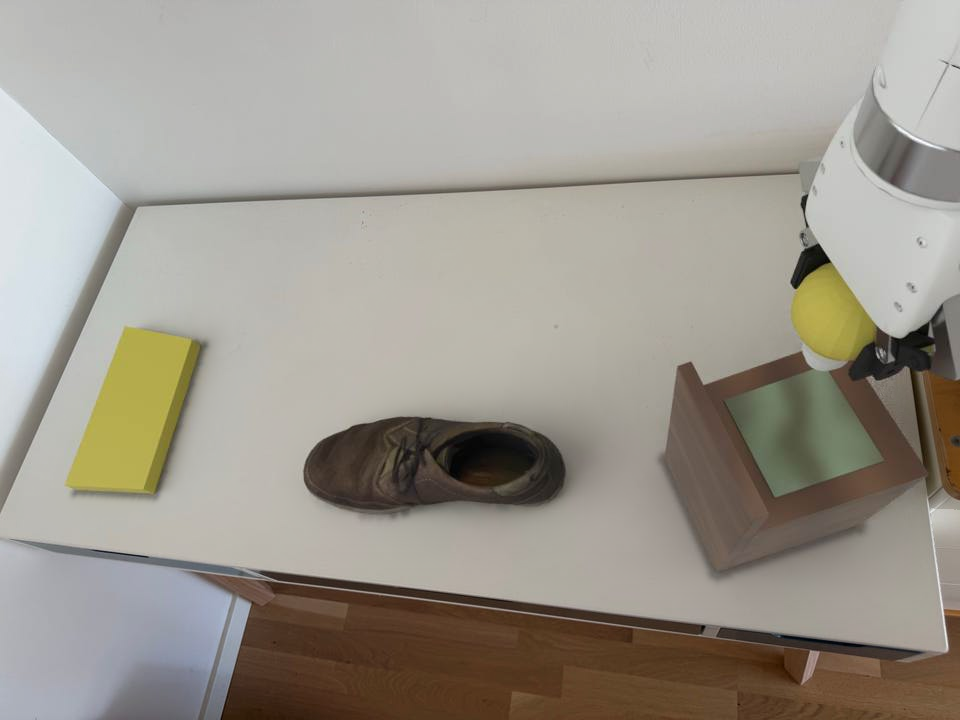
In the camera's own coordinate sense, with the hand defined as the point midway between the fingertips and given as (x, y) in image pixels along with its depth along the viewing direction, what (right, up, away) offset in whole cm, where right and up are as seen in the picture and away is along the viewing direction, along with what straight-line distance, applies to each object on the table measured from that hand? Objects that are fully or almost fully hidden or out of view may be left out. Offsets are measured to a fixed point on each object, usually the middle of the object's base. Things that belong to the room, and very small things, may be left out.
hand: (842, 322), depth 43 cm
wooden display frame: (+6, -16, +26) cm, 32 cm away
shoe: (-29, -16, +35) cm, 48 cm away
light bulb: (+1, -2, +5) cm, 5 cm away
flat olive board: (-71, -9, +48) cm, 87 cm away
